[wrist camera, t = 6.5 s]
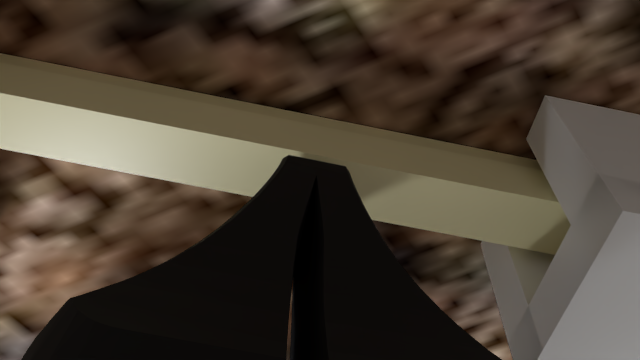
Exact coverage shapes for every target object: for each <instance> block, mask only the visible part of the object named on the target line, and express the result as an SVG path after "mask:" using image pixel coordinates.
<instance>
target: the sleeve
mask: <svg viewBox="0 0 640 360" xmlns="http://www.w3.org/2000/svg"><path fill="white" fill-rule="evenodd" d="M526 140H527V142H528V144H529V146H530V148H531V150H532V151H533V153H534V155H535V157H536V159H537V161H538V163H539V165H540V167H541V169H542V171H543V173H544V174H545V176H546V178H547V180H548V182H549V184H550V186H551V188H552V190H553V192H554V194H555V196H556V198H557V199H558V201H559V203H560V205H561V207H562V209H563V211H564V213H565V215H566V217H567V219H568V221H569V222H570V224H571V226H570V228H569V230H568V231H567V233H566V235H565V237H564V239H563V241H562V243H561V245H560V247H559V249H558V250H557V252H556V254H555V255H553V254H548V253H543V252H538V251H532V250H527V249H522V248H517V247H511V246H506V245H501V244H496V243H490V242H485V241H482V242H481V249H482V252H483V256H484V260H485V263H486V267H487V270H488V274H489V277H490V281H491V284H492V288H493V291H494V295H495V298H496V302H497V305H498V309H499V313H500V316H501V320H502V323H503V327H504V330H505V334H506V337H507V341H508V344H509V348H510V351H511V355H512V358H513V360H640V115H639V114H634V113H629V112H625V111H620V110H615V109H610V108H605V107H600V106H595V105H591V104H586V103H581V102H576V101H571V100H566V99H561V98H556V97H552V96H547V95H545V96H544V99H543V101H542V103H541V106H540V108H539V110H538V113H537V115H536V117H535V120H534V122H533V124H532V127H531V129H530V131H529V134H528V136H527V138H526Z"/></svg>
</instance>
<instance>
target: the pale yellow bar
mask: <svg viewBox="0 0 640 360" xmlns="http://www.w3.org/2000/svg"><path fill="white" fill-rule="evenodd" d="M0 149H4V150H10V151H15V152H20V153H25V154H31V155H36V156H41V157H46V158H51V159H57V160H62V161H67V162H72V163H78V164H83V165H88V166H93V167H98V168H104V169H109V170H114V171H119V172H125V173H130V174H135V175H140V176H146V177H151V178H156V179H161V180H166V181H172V182H177V183H182V184H187V185H193V186H198V187H203V188H208V189H213V190H219V191H224V192H229V193H234V194H240V195H245V196H250V197H253V196H254V195H255V194H256V193H257V192H258V191H259V190H260V189H261V188H262V187H263V186H264V184H265V183H266V182H267V181H268V180H269V178H270V177H271V176H272V175H273V173H274V172H275V171H276V169H277V168H278V166H279V164H280V163H281V161H282V158H284V157H286V156H288V155H292V156H297V157H302V158H307V159H312V160H317V161H322V162H327V163H332V164H337V165H342V166H346V167H347V169H348V170H349V172H350V175H351V177H352V180H353V182H354V185H355V187H356V189H357V192H358V194H359V196H360V198H361V200H362V202H363V204H364V206H365V208H366V210H367V212H368V214H369V216H370V217H371V219H372V220H375V221H381V222H386V223H391V224H396V225H402V226H407V227H412V228H417V229H423V230H428V231H433V232H438V233H443V234H449V235H454V236H459V237H464V238H470V239H475V240H480V241H485V242H490V243H496V244H501V245H506V246H511V247H517V248H522V249H527V250H532V251H538V252H543V253H548V254H553V255H555V254H556V252H557V250H558V249H559V247H560V245H561V243H562V241H563V239H564V237H565V235H566V233H567V231H568V230H569V228H570V226H571V224H570V222H569V221H568V219H567V217H566V215H565V213H564V211H563V209H562V207H561V205H560V203H559V201H558V199H557V198H556V196H555V194H554V192H553V190H552V188H551V186H550V184H549V182H548V180H547V178H546V176H545V174H544V173H543V171H542V169H541V167H540V165H539V163H538V161H537V160H534V159H529V158H524V157H519V156H514V155H509V154H504V153H499V152H494V151H489V150H484V149H479V148H474V147H469V146H464V145H459V144H454V143H449V142H444V141H439V140H434V139H429V138H424V137H419V136H414V135H409V134H404V133H399V132H393V131H388V130H383V129H378V128H373V127H368V126H363V125H358V124H353V123H348V122H343V121H338V120H333V119H328V118H323V117H318V116H313V115H308V114H303V113H298V112H293V111H288V110H283V109H278V108H273V107H268V106H263V105H258V104H253V103H248V102H243V101H238V100H233V99H228V98H223V97H218V96H213V95H208V94H203V93H198V92H193V91H188V90H183V89H178V88H173V87H168V86H163V85H158V84H153V83H148V82H143V81H138V80H133V79H128V78H123V77H118V76H113V75H108V74H103V73H98V72H93V71H88V70H83V69H77V68H72V67H67V66H62V65H57V64H52V63H47V62H42V61H37V60H32V59H27V58H22V57H17V56H12V55H7V54H2V53H0Z"/></svg>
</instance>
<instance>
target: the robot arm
mask: <svg viewBox="0 0 640 360" xmlns="http://www.w3.org/2000/svg"><path fill="white" fill-rule="evenodd" d="M293 277H294V280H293ZM292 280H293V301H292V323H291V347H290V360H502V359H500V358H499V357H497V356H496V355H494V354H493V353H492V352H490V351H489V350H488V349H486V348H485V347H484V346H482V345H481V344H480V343H479V342H478V341H476V340H475V339H474V338H473V337H472V336H470V335H469V334H468V333H467V332H466V331H464V330H463V329H462V328H461V327H460V326H458V325H457V324H456V323H455V322H454V321H453V320H452V319H451V318H450V317H448V316H447V315H446V314H445V313H444V312H443V311H442V310H441V309H440V308H439V307H438V306H437V305H436V304H435V303H434V302H433V301H432V300H431V299H430V298H429V297H428V296H427V295H426V294H425V293H424V292H423V290H422V289H421V288H420V287H419V286H418V285H417V284H416V283H415V282H414V280H413V279H412V278H411V277H410V275H409V274H408V273H407V272H406V271H405V269H404V268H403V267H402V266H401V264H400V263H399V262H398V261H397V259H396V258H395V256H394V255H393V254H392V252H391V251H390V249H389V248H388V246H387V244H386V243H385V241H384V240H383V238H382V237H381V235H380V233H379V232H378V230H377V228H376V227H375V225H374V223H373V221H372V219H371V217H370V216H369V214H368V212H367V210H366V208H365V206H364V204H363V202H362V200H361V198H360V196H359V194H358V192H357V189H356V187H355V185H354V182H353V180H352V177H351V175H350V172H349V170H348V169H347V167H346V166H342V165H337V164H332V163H327V162H322V161H317V160H312V159H307V158H302V157H297V156H292V155H288V156H286V157H284V158H282V161H281V163H280V164H279V166H278V168H277V169H276V171H275V172H274V173H273V175H272V176H271V177H270V178H269V180H268V181H267V182H266V183H265V184H264V186H263V187H262V188H261V189H260V190H259V191H258V192H257V193H256V194H255V195H254V196H253V198H252V199H251V200H250V201H249V202H248V203H246V204H245V205H244V206H243V207H242V208H241V209H240V210H239V211H238V212H237V213H236V214H234V215H233V216H232V217H231V218H230V219H229V220H228V221H226V222H225V223H224V224H223V225H222V226H220V227H219V228H218V229H216V230H215V231H214V232H212V233H211V234H210V235H208V236H207V237H205V238H204V239H203V240H201V241H200V242H198V243H197V244H195V245H193V246H192V247H190V248H188V249H187V250H185V251H184V252H182V253H180V254H179V255H177V256H175V257H174V258H172V259H170V260H168V261H166V262H164V263H163V264H160V265H158V266H156V267H154V268H152V269H150V270H148V271H146V272H143V273H141V274H139V275H136V276H134V277H132V278H129V279H127V280H124V281H121V282H119V283H116V284H113V285H110V286H107V287H104V288H101V289H98V290H95V291H92V292H89V293H86V294H83V295H80V296H76V297H73V298H70V299H69V300H68V301H67V302H66V303H65V304H64V305H63V306H62V307H61V309H60V310H59V311H58V312H57V313H56V314H55V315H54V317H53V318H52V319H51V320H50V321H49V323H48V324H47V325H46V326H45V327H44V329H43V330H42V331H41V332H40V333H39V335H38V336H37V337H36V338H35V340H34V341H33V343H32V344H31V345H30V347H29V348H28V350H27V351H26V353H25V355H24V356H23V358H22V360H286V350H287V334H288V320H289V308H290V298H291V287H292Z"/></svg>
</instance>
